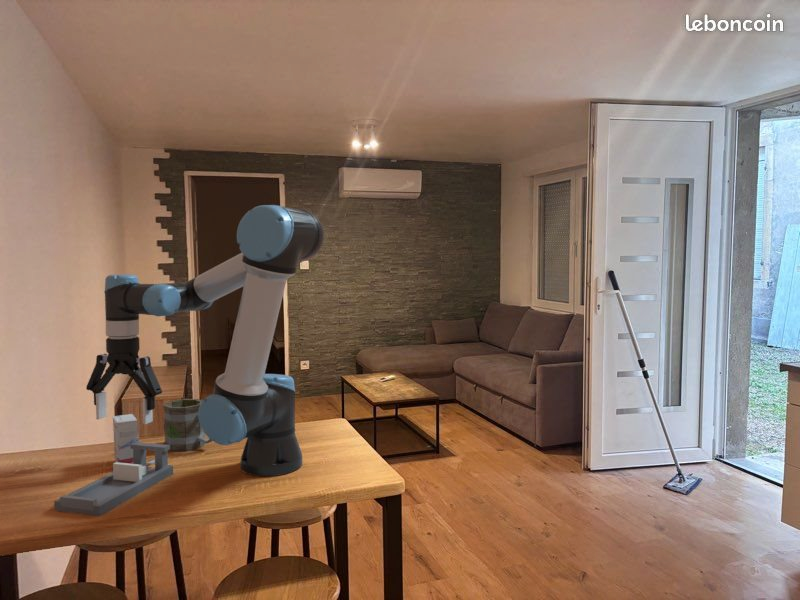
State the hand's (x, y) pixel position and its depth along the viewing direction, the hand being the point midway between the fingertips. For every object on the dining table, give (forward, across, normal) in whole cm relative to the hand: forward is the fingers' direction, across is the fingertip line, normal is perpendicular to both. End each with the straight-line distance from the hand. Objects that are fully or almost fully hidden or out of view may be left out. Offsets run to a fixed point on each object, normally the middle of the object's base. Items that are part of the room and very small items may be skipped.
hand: (124, 420), depth 147 cm
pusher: (+10, -11, +7) cm, 16 cm away
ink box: (+11, -1, 0) cm, 11 cm away
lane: (+11, -11, +15) cm, 21 cm away
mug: (+11, -9, -16) cm, 21 cm away
